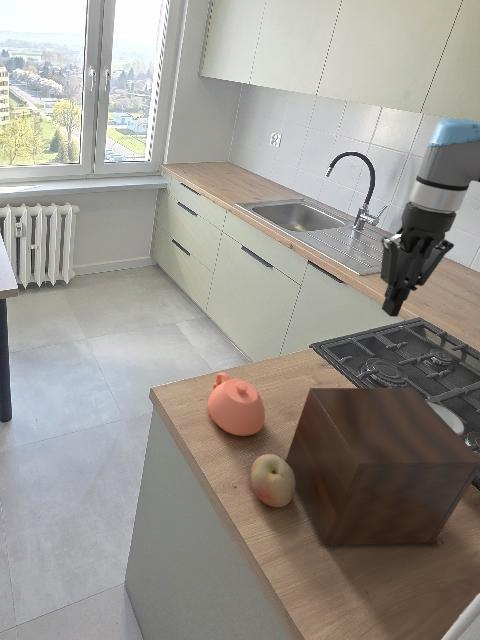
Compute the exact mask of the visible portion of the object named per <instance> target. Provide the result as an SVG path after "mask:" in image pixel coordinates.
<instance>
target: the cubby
mask: <svg viewBox="0 0 480 640" xmlns="http://www.w3.org/2000/svg"><path fill="white" fill-rule="evenodd" d="M427 402H428V401H426V400H425V399H424V398H423V397H422V396H421V394H420V393H418V392H417V390H416V389H415V388H414V387H309V390H308V393H307V395H306V399H305V402H304V405H303V408H302V410H301V413H300V417H299V419H298V423H297V426H296V429H295V432H294V435H293V437H292V440H291V443H290V447H289V450H288V452H287V455H286V458H285V460H284V461H285V462H286V463H287V464H288V465H289V466H290V468H291V469H292V471H293V473H294V475H295V480H296V488H295V489H296V490H297V493H298V494H299V497H300V498H301V500H302V501H301V502H302V503H303V505H304V507H305V509H306V511H307V513H308V515H309V517H310V519H311V522H312V523H313V525H314V528H315V530H316V531H317V533H318V536H319V538H320V539H321V542H322V544H323V545H325V546H328V545H332V546H333V545H369V544H370V545H375V544H376V545H377V544H417V543H418V544H420V543H421V544H422V543H423V544H424V543H425V544H426V543H427V544H428V543H435V542H436V540H437V539H438V537H439V535H440V534H441V532H442V530H443V529H444V527H445V526H446V524H447V523H448V521H449V519H450V518H451V516H452V514H453V513H454V511H455V510H456V508H457V506H458V504H459V503H460V502H461V500H462V498H463V497H464V495H465V493H466V492H467V490H468V489H469V487H470V486H471V484H472V482H473V481H474V480H475V477H476V476H477V475H478V474H479V471H480V456H478V454H477V453H476V452H475V451H474V450H473V449H472V448H471V447H470V446H469V445H468V444H467V443H466V441H465V440H463V438H460V437H459V436H458V435H457V434H456V432H455V431H454V430H453V429H452V428H451V427H450V426H449V425H448V424H447V423H446V422H445V421H444V420H443V419H442V418H441V417H440V416H439V415H438V414H437V413H436V412H435V410H434V409H433V408H432V407H431V406H430V405H429V404H428V403H427Z"/></svg>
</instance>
